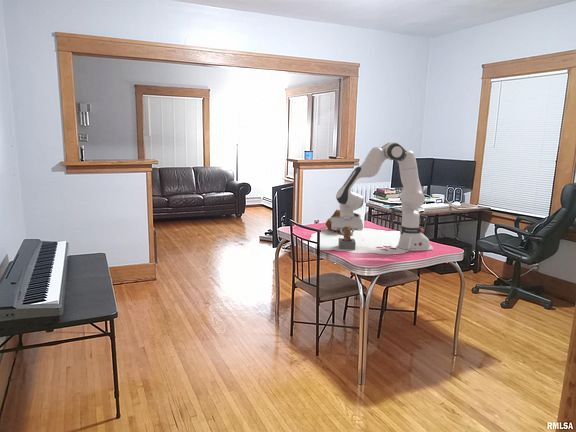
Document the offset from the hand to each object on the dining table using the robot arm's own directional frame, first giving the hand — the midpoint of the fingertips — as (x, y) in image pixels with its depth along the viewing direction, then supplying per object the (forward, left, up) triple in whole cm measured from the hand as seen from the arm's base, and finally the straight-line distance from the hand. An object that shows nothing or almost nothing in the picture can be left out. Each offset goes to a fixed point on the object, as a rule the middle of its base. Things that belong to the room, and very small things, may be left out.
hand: (347, 235), depth 273 cm
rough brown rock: (+3, -56, -10) cm, 57 cm away
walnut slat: (0, -1, -7) cm, 7 cm away
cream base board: (-5, -1, -10) cm, 11 cm away
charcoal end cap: (0, -1, -8) cm, 8 cm away
